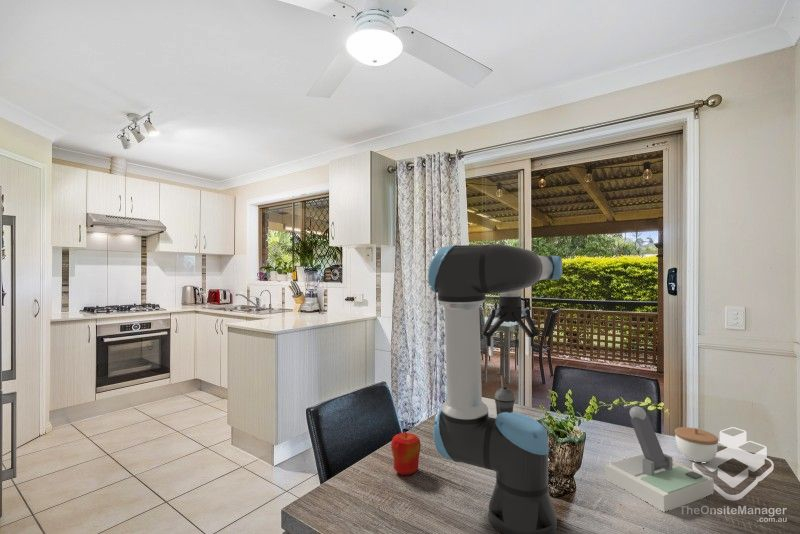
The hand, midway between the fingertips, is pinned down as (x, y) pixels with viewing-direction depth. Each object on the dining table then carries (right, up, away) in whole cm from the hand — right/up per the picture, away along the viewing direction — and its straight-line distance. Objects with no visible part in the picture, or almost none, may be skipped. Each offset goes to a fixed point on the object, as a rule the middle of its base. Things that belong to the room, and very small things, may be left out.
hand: (509, 355), depth 135 cm
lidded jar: (+54, -29, -16) cm, 63 cm away
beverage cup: (-1, -29, +4) cm, 29 cm away
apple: (-37, -28, -25) cm, 53 cm away
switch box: (+31, -28, -32) cm, 53 cm away
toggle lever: (+31, -23, -32) cm, 51 cm away
